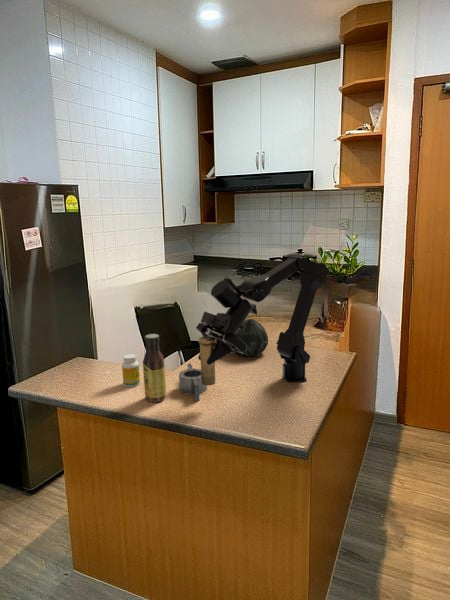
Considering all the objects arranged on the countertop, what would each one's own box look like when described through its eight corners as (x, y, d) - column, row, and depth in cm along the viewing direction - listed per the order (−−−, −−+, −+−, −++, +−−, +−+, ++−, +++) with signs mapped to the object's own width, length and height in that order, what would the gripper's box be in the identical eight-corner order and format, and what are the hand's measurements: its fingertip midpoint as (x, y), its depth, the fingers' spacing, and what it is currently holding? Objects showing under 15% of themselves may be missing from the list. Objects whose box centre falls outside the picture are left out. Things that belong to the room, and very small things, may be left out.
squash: (240, 331, 182) (231, 310, 171) (275, 335, 176) (268, 314, 165) (229, 361, 175) (219, 341, 163) (266, 367, 169) (258, 346, 158)
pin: (217, 379, 128) (216, 336, 125) (216, 386, 123) (214, 341, 121) (201, 379, 128) (199, 336, 126) (199, 386, 124) (197, 341, 121)
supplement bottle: (125, 381, 146) (123, 353, 144) (141, 380, 147) (139, 353, 145) (122, 387, 141) (119, 359, 139) (138, 387, 141) (136, 358, 139)
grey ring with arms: (177, 379, 147) (176, 364, 146) (202, 376, 149) (201, 362, 148) (183, 402, 129) (182, 386, 128) (211, 399, 131) (211, 383, 130)
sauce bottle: (146, 395, 135) (142, 332, 131) (166, 393, 136) (163, 331, 132) (144, 404, 129) (139, 338, 125) (165, 403, 129) (162, 337, 125)
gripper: (200, 295, 131) (168, 338, 127) (237, 306, 116) (202, 355, 112) (223, 317, 137) (193, 358, 133) (261, 330, 122) (229, 377, 118)
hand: (203, 361), depth 124 cm, fingers closed on pin, 4 cm apart
